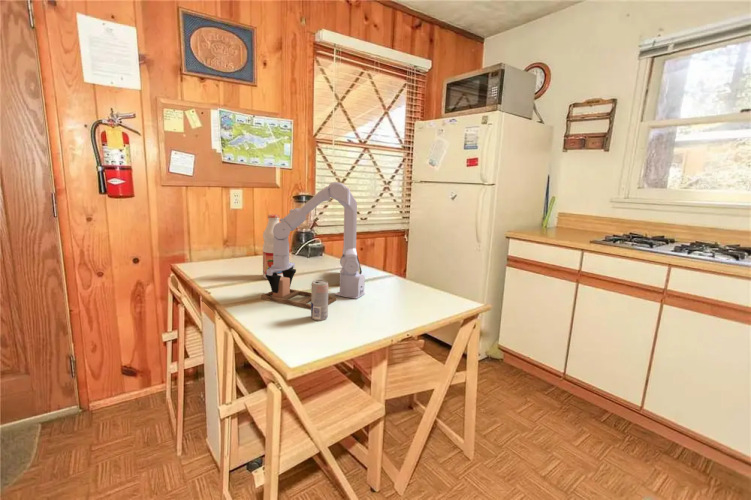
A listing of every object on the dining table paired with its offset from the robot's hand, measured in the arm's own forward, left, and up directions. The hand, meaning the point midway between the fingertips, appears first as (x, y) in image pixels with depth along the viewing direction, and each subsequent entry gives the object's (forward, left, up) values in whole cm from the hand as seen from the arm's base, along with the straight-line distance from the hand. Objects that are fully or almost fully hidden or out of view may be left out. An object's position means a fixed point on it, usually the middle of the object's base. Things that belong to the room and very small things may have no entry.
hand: (281, 289), depth 138 cm
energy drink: (-24, +12, -3) cm, 27 cm away
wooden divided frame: (-8, 0, -2) cm, 8 cm away
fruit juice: (+19, -20, -3) cm, 28 cm away
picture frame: (-11, -37, -3) cm, 39 cm away
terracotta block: (0, 0, -2) cm, 2 cm away
